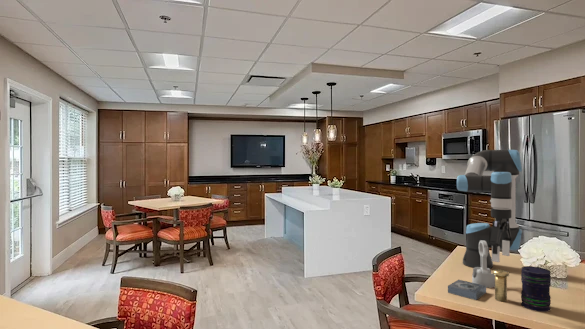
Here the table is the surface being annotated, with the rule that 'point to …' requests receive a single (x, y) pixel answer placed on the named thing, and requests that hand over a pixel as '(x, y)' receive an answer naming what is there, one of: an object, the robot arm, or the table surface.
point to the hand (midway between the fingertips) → (500, 258)
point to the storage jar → (535, 288)
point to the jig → (467, 289)
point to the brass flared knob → (500, 284)
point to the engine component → (483, 268)
